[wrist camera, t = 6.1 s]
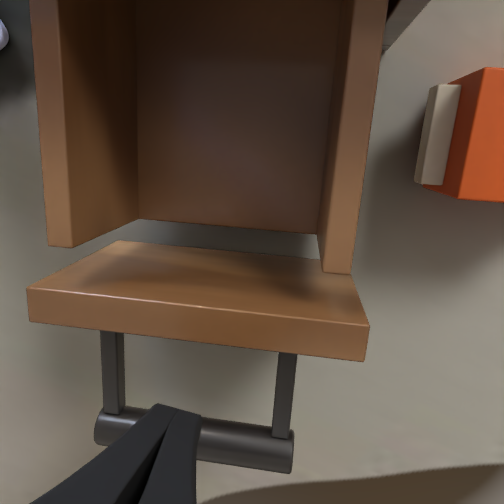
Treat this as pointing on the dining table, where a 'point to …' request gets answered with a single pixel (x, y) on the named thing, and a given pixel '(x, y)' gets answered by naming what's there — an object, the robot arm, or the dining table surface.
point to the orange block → (465, 138)
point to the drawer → (207, 183)
